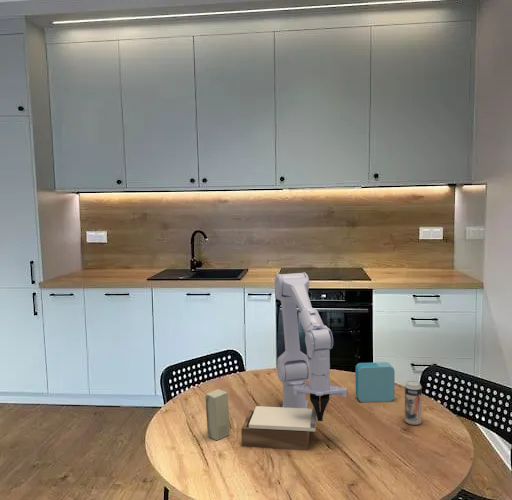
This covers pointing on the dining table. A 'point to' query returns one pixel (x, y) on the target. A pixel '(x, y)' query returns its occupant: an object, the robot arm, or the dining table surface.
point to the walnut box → (273, 437)
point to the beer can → (413, 402)
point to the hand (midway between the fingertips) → (320, 419)
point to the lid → (284, 418)
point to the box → (217, 414)
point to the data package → (375, 382)
